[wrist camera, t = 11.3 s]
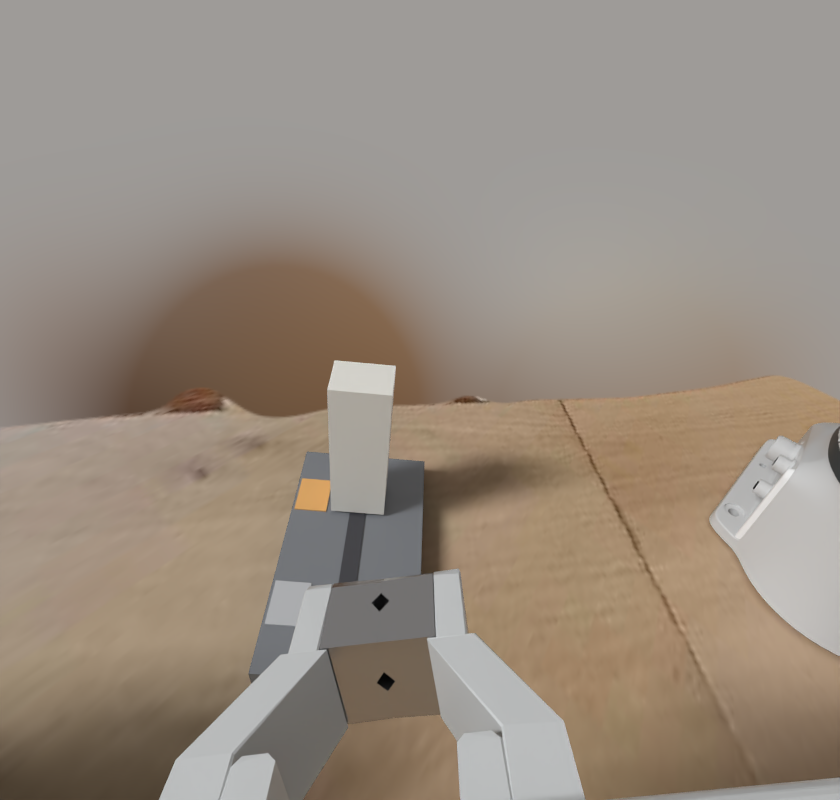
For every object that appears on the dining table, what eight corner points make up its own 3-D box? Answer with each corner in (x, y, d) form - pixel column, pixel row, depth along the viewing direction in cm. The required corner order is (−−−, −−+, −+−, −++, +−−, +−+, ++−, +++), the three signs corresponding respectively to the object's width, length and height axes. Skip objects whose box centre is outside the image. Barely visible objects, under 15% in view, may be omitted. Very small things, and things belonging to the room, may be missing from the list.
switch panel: (414, 698, 33) (417, 684, 32) (252, 687, 33) (248, 672, 31) (422, 476, 47) (424, 460, 45) (308, 467, 46) (306, 450, 45)
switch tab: (383, 514, 40) (392, 395, 33) (331, 510, 40) (327, 389, 32) (386, 484, 43) (395, 366, 35) (337, 480, 42) (334, 360, 35)
